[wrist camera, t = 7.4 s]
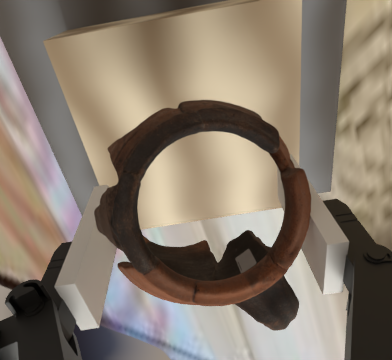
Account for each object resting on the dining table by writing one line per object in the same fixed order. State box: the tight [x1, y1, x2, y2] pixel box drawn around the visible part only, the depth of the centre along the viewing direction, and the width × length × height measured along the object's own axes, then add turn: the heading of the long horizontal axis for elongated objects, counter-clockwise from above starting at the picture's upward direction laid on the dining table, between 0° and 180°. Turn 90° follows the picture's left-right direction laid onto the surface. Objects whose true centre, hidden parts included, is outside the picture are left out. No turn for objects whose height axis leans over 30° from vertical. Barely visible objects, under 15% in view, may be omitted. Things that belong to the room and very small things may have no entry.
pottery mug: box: [94, 100, 311, 330], centre depth 15 cm, size 12×10×8 cm
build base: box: [0, 0, 347, 230], centre depth 26 cm, size 26×22×6 cm
